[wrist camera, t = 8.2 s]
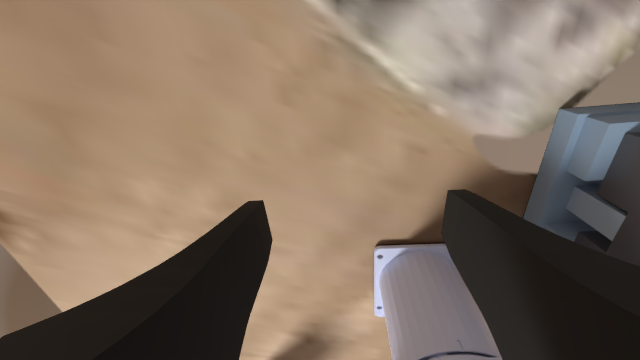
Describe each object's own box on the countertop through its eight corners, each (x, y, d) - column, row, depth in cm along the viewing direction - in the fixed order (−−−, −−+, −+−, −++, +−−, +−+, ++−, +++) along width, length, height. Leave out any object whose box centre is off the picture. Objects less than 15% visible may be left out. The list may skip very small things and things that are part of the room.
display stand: (588, 245, 22) (652, 296, 17) (513, 247, 22) (557, 298, 18) (662, 100, 16) (785, 121, 12) (559, 108, 17) (639, 131, 12)
